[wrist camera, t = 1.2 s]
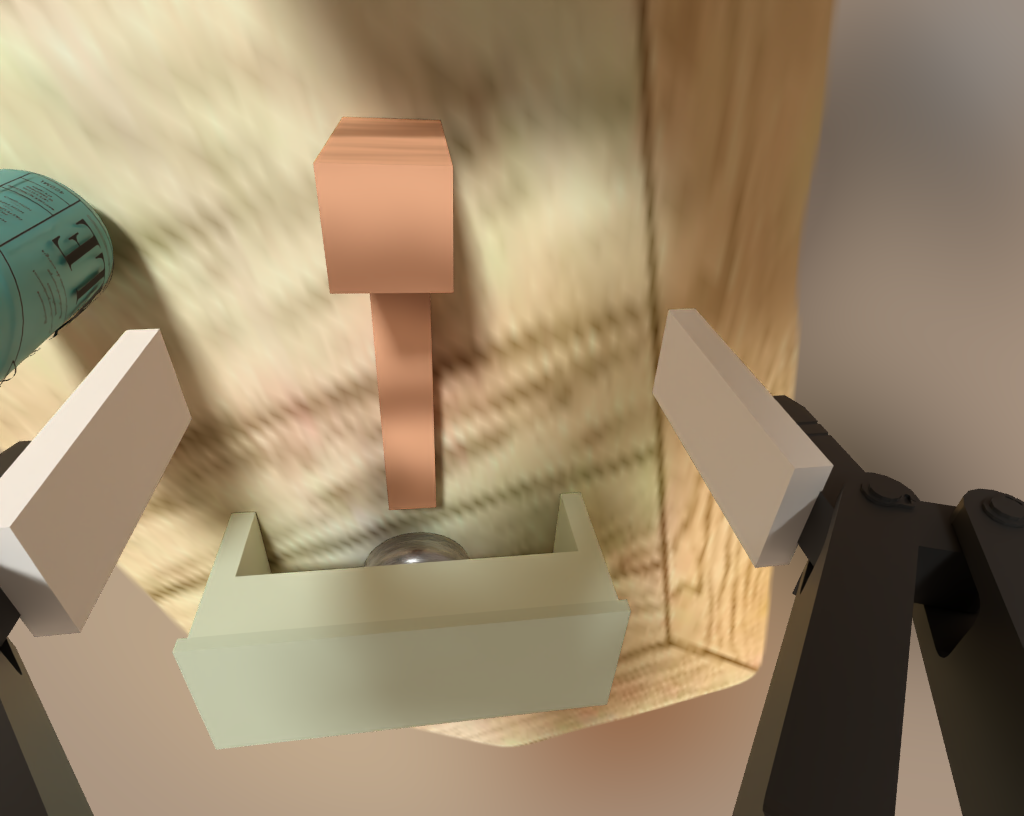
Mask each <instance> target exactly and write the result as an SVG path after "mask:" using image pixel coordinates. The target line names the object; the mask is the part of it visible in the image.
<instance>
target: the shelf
mask: <svg viewBox="0 0 1024 816" xmlns="http://www.w3.org/2000/svg"><path fill="white" fill-rule="evenodd" d="M630 613H631V609H630V607H629V604H628V601H627V599H625V600H619V599H618V596H617V594H616V591H615V588H614V585H613V582H612V579H611V577H610V574H609V571H608V568H607V565H606V562H605V560H604V557H603V554H602V551H601V548H600V545H599V543H598V540H597V537H596V534H595V531H594V528H593V526H592V523H591V520H590V517H589V514H588V511H587V509H586V506H585V503H584V500H583V497H582V494H581V492H580V493H564V494H561V495H560V503H559V510H558V518H557V526H556V534H555V541H554V549H553V553H546V554H533V555H519V556H506V557H492V558H479V559H466V560H452V561H439V562H425V563H412V564H398V565H385V566H372V567H358V568H345V569H331V570H318V571H305V572H291V573H278V574H271V570H270V566H269V562H268V558H267V555H266V551H265V547H264V543H263V539H262V535H261V532H260V528H259V524H258V520H257V516H256V513H255V512H244V513H232V514H231V517H230V519H229V522H228V525H227V528H226V531H225V533H224V536H223V539H222V542H221V545H220V548H219V550H218V553H217V556H216V559H215V562H214V564H213V567H212V570H211V573H210V576H209V579H208V581H207V584H206V587H205V590H204V593H203V595H202V598H201V601H200V604H199V607H198V610H197V612H196V615H195V618H194V621H193V624H192V626H191V629H190V632H189V635H188V638H182V639H177V641H176V644H175V647H174V649H173V652H172V653H173V655H174V657H175V659H176V661H177V664H178V666H179V668H180V670H181V673H182V675H183V677H184V679H185V681H186V683H187V686H188V688H189V690H190V693H191V695H192V697H193V699H194V701H195V704H196V706H197V708H198V710H199V713H200V715H201V717H202V719H203V721H204V724H205V726H206V728H207V730H208V733H209V735H210V737H211V739H212V741H213V743H214V746H215V748H216V749H225V748H233V747H242V746H251V745H259V744H267V743H276V742H285V741H293V740H303V739H311V738H320V737H329V736H338V735H347V734H355V733H364V732H373V731H381V730H390V729H398V728H408V727H416V726H425V725H434V724H442V723H451V722H460V721H469V720H477V719H486V718H495V717H503V716H512V715H521V714H530V713H538V712H547V711H556V710H564V709H573V708H582V707H591V706H599V705H607V702H608V698H609V694H610V691H611V687H612V683H613V679H614V675H615V671H616V667H617V663H618V659H619V655H620V652H621V648H622V644H623V640H624V636H625V632H626V628H627V624H628V620H629V616H630Z"/></svg>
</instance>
